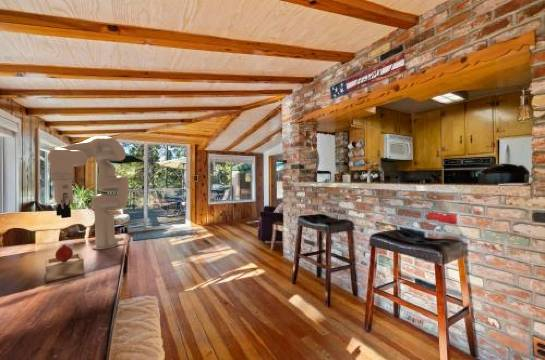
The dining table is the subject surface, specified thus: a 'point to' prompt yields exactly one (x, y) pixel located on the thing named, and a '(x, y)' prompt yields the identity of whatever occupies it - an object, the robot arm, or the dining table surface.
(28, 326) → the dining table surface
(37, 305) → the dining table surface
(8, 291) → the dining table surface
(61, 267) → the beige square hollow tray
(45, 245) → the dining table surface
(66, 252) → the onion
